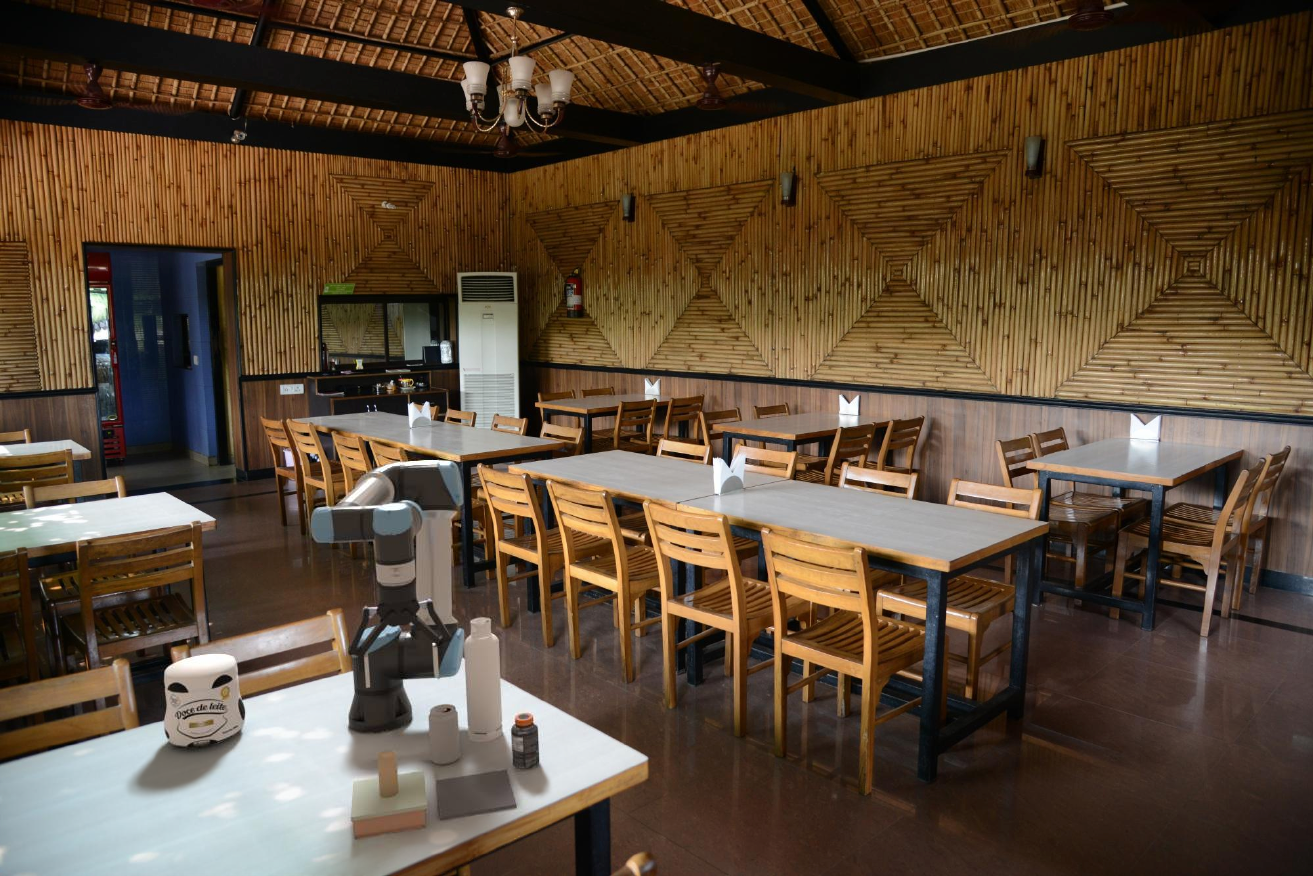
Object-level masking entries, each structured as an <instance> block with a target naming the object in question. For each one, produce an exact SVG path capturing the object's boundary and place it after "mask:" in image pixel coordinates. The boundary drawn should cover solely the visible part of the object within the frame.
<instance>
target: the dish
mask: <svg viewBox="0 0 1313 876" xmlns="http://www.w3.org/2000/svg"><path fill="white" fill-rule="evenodd" d="M425 813H426V812H425V809H422V810H416V811H410V812H404V813H398V814H392V815H386V816H380V817H375V818H369V819H363V820H357V821H353V826H354V839H355V840H358V839H364V838H370V837H375V836H382V835H387V834H391V833H399V832H404V831H410V830H415V829H421V828H426V815H425Z"/></svg>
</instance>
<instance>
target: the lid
mask: <svg viewBox="0 0 1313 876" xmlns="http://www.w3.org/2000/svg"><path fill="white" fill-rule="evenodd" d="M397 759H398V758H397V752H396V751H394V750H385V751H381V752H379V753H378V754H377V769H378V770H377V771H378V773H377V774H378V777H373V778H367V779H361V780H354V781H353V782H352V794H351V796H352V797H351V798H352V799H351V810H350V811H351V812H350V822H354V821H357V820H363V819H369V818H375V817H380V816H386V815H392V814H398V813H404V812H410V811H416V810H422V809H424V810H427V809H428V801H427V791H426V779H425V771H424V770H419V771H412V772H411V771H410V772H406V773H399V774H398V760H397Z"/></svg>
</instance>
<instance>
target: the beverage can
mask: <svg viewBox="0 0 1313 876" xmlns="http://www.w3.org/2000/svg"><path fill="white" fill-rule="evenodd" d="M458 715H459V714H458V711H457V709H456V706H455V705H453V704H448V703H444V704H438V705H435V706H433V707H431V708H430V710H429V714H428V730H429V731H428V734H429V749H430V750H429V753H430V760H431V762H433V763H434V764H436V765H440V766H446V765H450V764H453V763H455V762H456V761H457V760H458V759H459V758H460V755H461V753H460V751H461V750H460V732H459V729H460V728H459V716H458Z"/></svg>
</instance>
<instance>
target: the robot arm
mask: <svg viewBox="0 0 1313 876" xmlns="http://www.w3.org/2000/svg"><path fill="white" fill-rule="evenodd" d="M463 504H464V490H463V484H462V479H461V474H460V469H459V467H458V465H457V463H456V462H454V461H453V460H440V459H437V460H417V461H416V460H415V461H411V460H410V461H394V462H390V463H387V464H386V463H385V464H383V465H380V466H377V467H375V468H373V469H371V470H369V471H367V472H366V473H365V474H363V475H362V476H361V477H359V479H357V481H356V483H355V485H354V488H353V489H352V490H351V491H350V492H349V493H348V494H347V495H345V496H344V497H343V498H342V499H341V500H340V501H339V502H337V504H336V505H334V506H329V505H327V506H321V507H316V508H315V509H314V510H313V511H312V513H311V517H310V531H311V532H310V533H311V536H312V538H313V540H314V541H315V542H316V543H327V544H329V543H330V544H333V543H350V542H351V543H353V542H354V543H355V542H374V551H375V570H376V571H375V572H376V580H377V582H378V584H377V585H376V586H377V601H378V604H377V606H371V607H369V606H368V605H364V606H362V616H361V618H360V621H359V623H358V625H357V627H356V629H355V632H354V634H353V636H352V638H351V641H350V643H349V645H348V648H347V652H348V656H350V657H351V660H352V673H353V674H352V675H353V689H354V695H353V698H352V701H351V706H350V709H349V712H348V726H349V728H350V729H351V730H353V731H355V732H357V733H363V734H377V733H379V734H380V733H385V732H389V731H393V730H396V729H399V728H401V727H403V726H404V725H406V724H408V723H409V722H410V721H411V719H413V706H412V704H411V701H410V698H409V696H408V695H407V692H406V689H405V686H404V680H405V681H406V680H422V679H423V680H425V679H426V680H427V679H438V680H440V679H443V678H444V679H445V678H451V677H455V676H456V675H457V674H458V673H459V671H460V669H461V665H462V660H463V653H464V642H465V630H464V629H463V628H461V627H460V628H459V623H458V622H459V621H458V620H457V619H456V618H455V617H454V616H453V614H452V613H453V611H452V610H453V609H452V607H453V606H452V601H453V600H452V519H453V518H454V517H455V516H456V515H457V514H458V507H460V506H462V505H463ZM415 537H416V539H415ZM414 539H415V540H416V542H415V543H416V544H414ZM415 545H416V548H415V549H414V547H415ZM414 550H416V551H414ZM415 553H416V554H415ZM415 555H416V556H415ZM415 557H416V558H415ZM415 578H416V579H415ZM375 614H377V616H379V618H380V619H379V620H378V622H377V624H376V625H373V626H372V627H367V626H368V624H369V621H370V619H372V618H374V615H375ZM408 625H409V631H402V628H401V626H408Z"/></svg>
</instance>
